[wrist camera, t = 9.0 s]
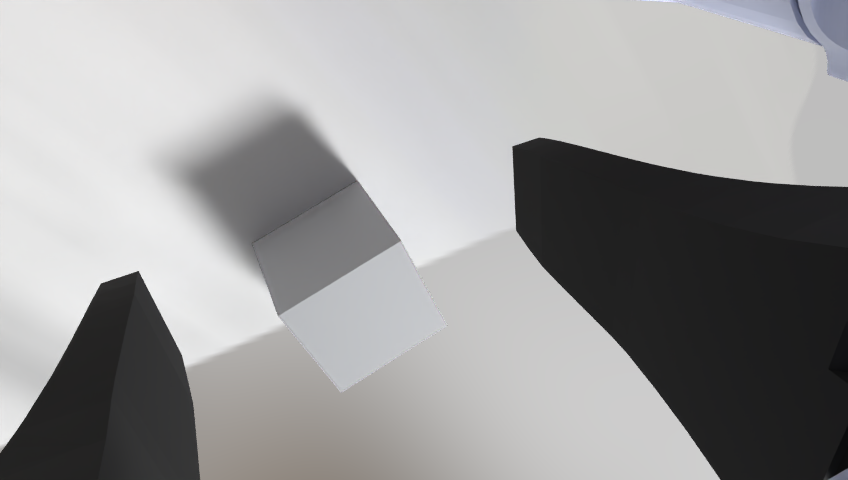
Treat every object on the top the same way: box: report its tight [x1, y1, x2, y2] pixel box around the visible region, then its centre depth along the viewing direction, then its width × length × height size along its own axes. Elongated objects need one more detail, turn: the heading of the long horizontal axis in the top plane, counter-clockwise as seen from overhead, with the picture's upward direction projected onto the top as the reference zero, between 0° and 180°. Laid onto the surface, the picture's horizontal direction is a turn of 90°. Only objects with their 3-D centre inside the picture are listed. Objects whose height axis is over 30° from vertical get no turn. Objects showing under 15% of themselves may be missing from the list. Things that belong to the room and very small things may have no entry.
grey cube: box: [252, 181, 447, 392], centre depth 23 cm, size 4×4×4 cm
